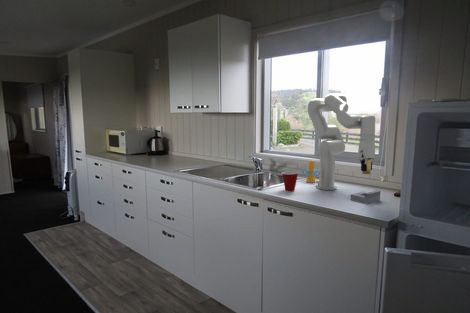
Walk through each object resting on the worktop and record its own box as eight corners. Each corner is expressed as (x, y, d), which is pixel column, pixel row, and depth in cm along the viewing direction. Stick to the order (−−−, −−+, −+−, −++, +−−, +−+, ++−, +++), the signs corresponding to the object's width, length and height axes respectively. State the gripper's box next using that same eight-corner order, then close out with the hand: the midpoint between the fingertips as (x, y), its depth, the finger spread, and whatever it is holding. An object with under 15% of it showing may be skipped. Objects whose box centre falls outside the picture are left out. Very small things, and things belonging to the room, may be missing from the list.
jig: (350, 199, 185) (350, 190, 184) (362, 196, 192) (362, 187, 191) (368, 203, 176) (368, 194, 176) (380, 200, 183) (380, 191, 183)
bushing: (360, 173, 183) (361, 159, 182) (365, 172, 185) (365, 158, 184) (367, 174, 179) (368, 159, 178) (372, 173, 182) (372, 159, 181)
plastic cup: (288, 187, 214) (288, 169, 213) (301, 190, 206) (302, 172, 205) (277, 190, 207) (277, 171, 205) (291, 193, 199) (291, 174, 198)
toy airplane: (301, 182, 231) (301, 161, 229) (303, 179, 240) (303, 159, 239) (318, 183, 227) (319, 162, 225) (320, 180, 236) (321, 160, 234)
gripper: (369, 137, 188) (368, 168, 190) (352, 138, 178) (351, 171, 180) (382, 137, 182) (381, 169, 184) (364, 138, 172) (363, 172, 174)
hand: (366, 170), depth 182 cm, fingers closed on bushing, 4 cm apart
